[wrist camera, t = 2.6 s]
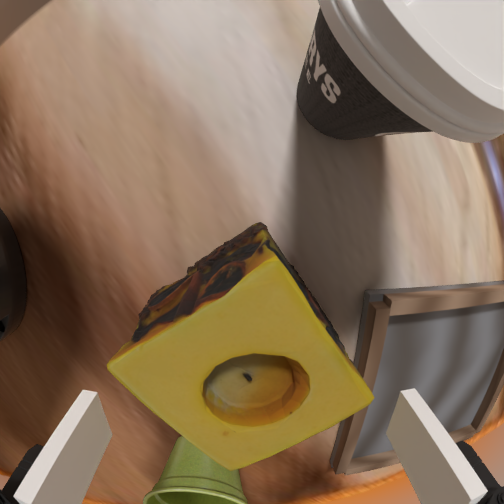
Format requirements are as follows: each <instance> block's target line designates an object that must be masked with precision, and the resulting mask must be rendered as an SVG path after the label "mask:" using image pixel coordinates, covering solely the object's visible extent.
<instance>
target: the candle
mask: <svg viewBox="0 0 504 504" xmlns="http://www.w3.org/2000/svg"><path fill="white" fill-rule="evenodd" d="M187 273H188V274H187V275H186V277H185V278H183V279H181V280H178V281H176V282H174V283H173V284H171V285H167V286H163V287H162V288H161V289H160V290H157V291H156V292H155V293H154V294H153V295H151V297H150V299H149V300H148V304H147V305H145V307H144V308H143V311H142V312H141V313H140V314H139V322H138V325H137V329H136V331H135V332H134V334H133V336H132V338H131V340H130V341H129V342H127V343H126V344H124V345H123V346H122V347H121V349H120V350H119V351H118V352H117V353H116V354H115V355H114V356H113V357H112V358H111V359H110V360H109V362H108V364H107V368H108V370H109V371H110V372H111V374H112V375H113V376H114V377H115V378H116V379H117V380H118V381H119V382H120V383H122V384H123V385H124V386H125V387H126V388H127V389H128V390H129V391H130V392H131V393H132V394H133V395H134V396H136V397H137V398H138V399H139V400H140V401H141V402H142V403H143V404H144V405H145V406H146V407H148V408H149V409H150V410H151V411H152V412H154V413H155V414H156V415H157V416H158V417H160V418H161V419H162V420H163V421H164V422H166V423H167V424H168V425H169V426H171V427H172V428H173V429H174V430H176V431H177V432H178V433H179V434H181V435H182V436H183V437H184V438H186V439H187V440H188V441H189V442H191V443H192V444H193V445H194V446H196V447H197V448H198V449H199V450H201V451H202V452H203V453H205V454H206V455H207V456H209V457H210V458H211V459H213V460H214V461H215V462H217V463H218V464H219V465H221V466H223V467H224V468H226V469H228V470H229V471H233V470H236V469H240V468H243V467H245V466H248V465H250V464H253V463H255V462H257V461H260V460H262V459H265V458H268V457H270V456H272V455H274V454H276V453H278V452H280V451H283V450H285V449H287V448H289V447H291V446H293V445H296V444H298V443H300V442H302V441H304V440H306V439H308V438H310V437H312V436H314V435H315V434H317V433H319V432H322V431H324V430H326V429H328V428H330V427H332V426H334V425H335V424H337V423H339V422H340V421H342V420H344V419H346V418H348V417H349V416H351V415H353V414H355V413H356V412H358V411H360V410H361V409H363V408H365V407H366V406H368V405H370V404H371V402H372V401H373V399H374V398H375V397H374V396H373V394H372V392H371V390H370V389H369V387H368V386H367V384H366V383H365V381H364V379H363V378H362V376H361V375H360V373H359V372H358V370H357V369H356V367H355V366H354V364H353V362H352V360H350V359H349V357H348V354H347V353H346V352H345V348H344V346H343V344H342V343H341V342H340V340H339V337H338V334H337V332H336V331H335V330H334V329H333V326H332V324H331V322H330V321H329V320H328V318H327V317H326V315H325V314H324V312H323V311H322V310H321V308H320V306H319V304H318V303H317V301H316V299H315V298H314V297H313V296H312V294H311V292H310V291H309V290H308V288H307V287H306V285H305V284H304V281H303V280H302V279H301V278H300V277H299V275H298V272H297V271H295V270H294V266H292V265H290V264H289V263H288V261H287V259H286V258H285V257H284V255H283V254H282V252H281V250H280V249H279V247H278V246H277V245H276V243H275V241H274V240H273V238H272V237H271V235H270V234H269V232H268V229H267V226H266V225H264V224H263V223H261V222H259V223H256V224H254V225H252V226H250V227H249V228H248V229H246V230H245V231H244V232H242V233H241V234H239V235H237V236H236V237H234V238H233V239H231V240H230V241H227V242H224V245H222V246H220V247H218V248H216V249H215V250H214V251H212V252H211V253H210V254H209V255H208V256H205V257H203V258H202V259H201V260H199V261H198V262H196V263H195V265H194V267H188V270H187Z"/></svg>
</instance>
